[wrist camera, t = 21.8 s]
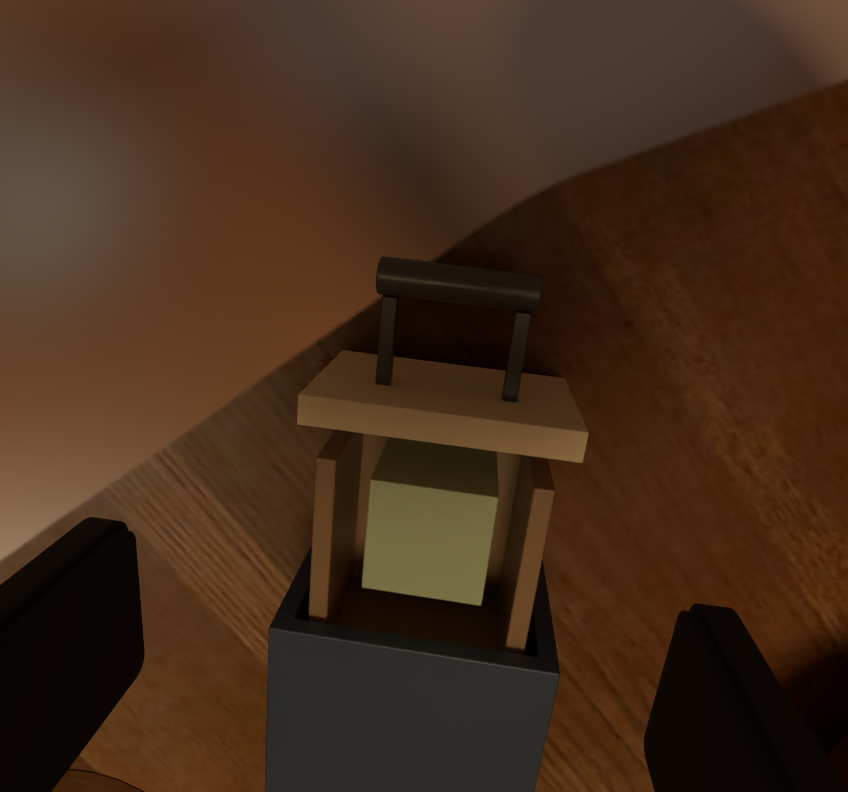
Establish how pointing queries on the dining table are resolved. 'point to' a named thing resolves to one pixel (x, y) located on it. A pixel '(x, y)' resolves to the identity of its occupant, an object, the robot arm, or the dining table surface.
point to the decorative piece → (90, 783)
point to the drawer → (444, 424)
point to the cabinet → (403, 706)
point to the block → (431, 520)
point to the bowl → (840, 759)
